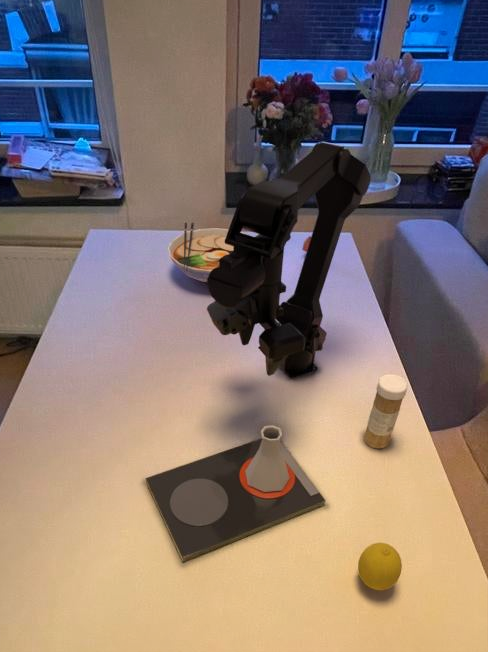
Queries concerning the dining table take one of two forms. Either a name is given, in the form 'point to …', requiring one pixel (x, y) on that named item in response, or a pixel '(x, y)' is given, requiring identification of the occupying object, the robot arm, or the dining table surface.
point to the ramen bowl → (199, 251)
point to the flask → (268, 463)
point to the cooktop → (226, 499)
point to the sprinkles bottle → (385, 410)
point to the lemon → (380, 566)
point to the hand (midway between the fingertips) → (257, 359)
